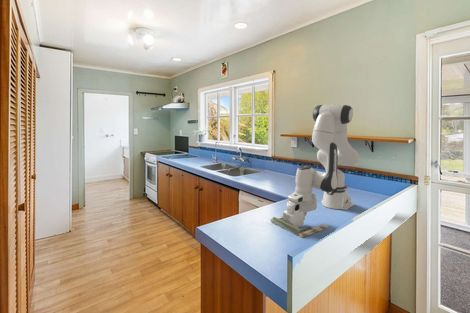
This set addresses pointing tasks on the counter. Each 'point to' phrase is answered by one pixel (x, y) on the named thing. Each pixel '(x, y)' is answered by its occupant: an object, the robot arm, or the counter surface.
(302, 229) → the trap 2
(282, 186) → the counter surface
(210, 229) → the counter surface
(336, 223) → the counter surface
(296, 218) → the container
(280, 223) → the tan flat bar frame
